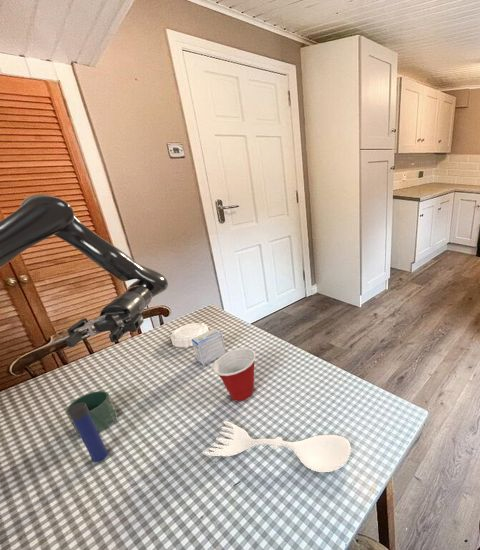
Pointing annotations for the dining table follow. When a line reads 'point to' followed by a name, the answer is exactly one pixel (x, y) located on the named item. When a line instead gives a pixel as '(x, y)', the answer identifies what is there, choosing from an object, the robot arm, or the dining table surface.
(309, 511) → the dining table surface
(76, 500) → the dining table surface
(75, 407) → the marker
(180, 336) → the mooncake
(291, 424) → the dining table surface
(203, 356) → the medicine box
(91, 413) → the tumbler
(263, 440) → the white spork
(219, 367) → the plastic cup
